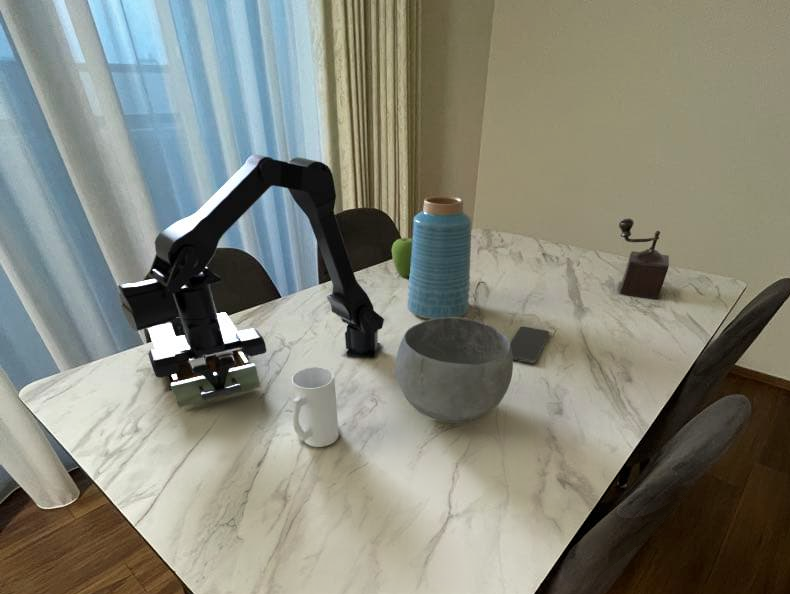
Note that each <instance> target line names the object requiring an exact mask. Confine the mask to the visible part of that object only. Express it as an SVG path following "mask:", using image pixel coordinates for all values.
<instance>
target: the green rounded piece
mask: <svg viewBox="0 0 790 594" xmlns="http://www.w3.org/2000/svg"><path fill="white" fill-rule="evenodd" d="M411 251H412V238H410V237H406V236H405V237H401V238H398V239H396V240H395V241H394V242H393V244H392V246H391V256H392V257H391V258H392V261H393V265H394V267H395V269H396V272H397V273H398V274H399V276H400V277H401V278H408V277H409V274H410V266H411V265H410V264H411Z"/></svg>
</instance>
